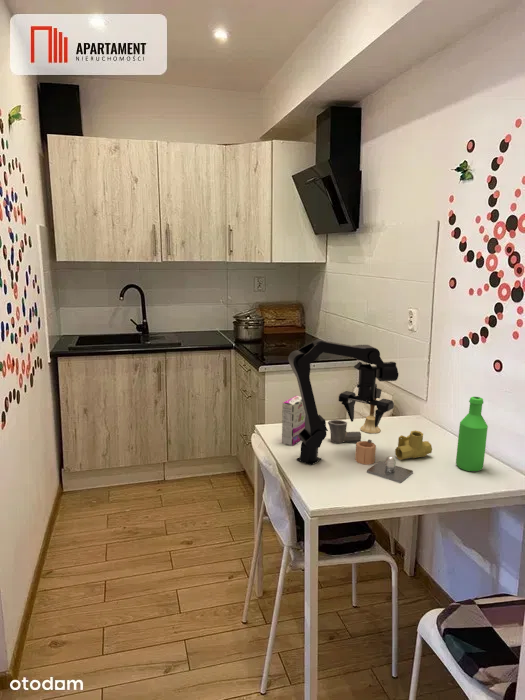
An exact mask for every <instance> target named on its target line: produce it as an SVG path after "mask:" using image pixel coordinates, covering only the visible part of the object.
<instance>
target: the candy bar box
mask: <svg viewBox="0 0 525 700" xmlns="http://www.w3.org/2000/svg"><path fill="white" fill-rule="evenodd" d="M281 410H282V412H281V413H282V414H281V415H282V417H281V419H282V420H281V422H282V423H281V425H282V426H281V427H282V428H281V443H282V444H283V445H288V446H290V447H291V446H292V447H293V446H294V445H296V444H298V443H299V442H300V441H301V440H300V438H299V433H300V432H301V431H302V430H303V429H304V428H305V410H304V406H303V402H302V398H301V395H295V396H293V397H290V398H288V399H287V400H285V401H283V402H282V409H281Z"/></svg>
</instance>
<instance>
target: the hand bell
mask: <svg viewBox="0 0 525 700" xmlns="http://www.w3.org/2000/svg"><path fill="white" fill-rule="evenodd" d="M374 400H377V398H376V399H374ZM369 407H370V409H369V410H370V411H369V415H368V416H365V420H364V423H363V425H362V426H361V427H360V428H359V429H360V431H361V432H363V433H365V434H380V433H381V428H380V427H379V425H378V426H377V427H375V405H370V404H369Z"/></svg>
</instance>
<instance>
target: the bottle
mask: <svg viewBox="0 0 525 700" xmlns="http://www.w3.org/2000/svg"><path fill="white" fill-rule="evenodd" d="M468 402H469V407H468V413H467V414H466V415H465V416H464V418H462V419H461V421H460V422H459V428H458V429H459V430H458V437H457V447H456V448H457V449H456V458H455V464H456V466H457V467H458V469H459V468H460V469H461V470H463V471H467V472H470V471H476V472H479V471H481V470H483V469H484V462H485V457H486V456H485V455H486V445H487V438H488V428H489V426H488V424H487V423H486V421H485V419H484V417H483V416H482V412H483V404H484V399H483V398H482V397H479V396H471V397H469V400H468Z"/></svg>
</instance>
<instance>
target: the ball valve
mask: <svg viewBox="0 0 525 700" xmlns="http://www.w3.org/2000/svg"><path fill="white" fill-rule="evenodd" d="M423 438H424V433H423V432H422V431H419V430H411V431H410V433H409V435H407V436H405V435H400V436H398V441H397V447H396V448H395V450H394V454H395V456H396V459H397V460H399V461H402V460H407V459H410V458H411V459H416V458H420V457H421V458H423V457H424V458H425V457H427V455H428V454H431V453H432V452H433V446H432V444H431V443H430V442H429V440H428V441H427V440H423Z"/></svg>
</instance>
